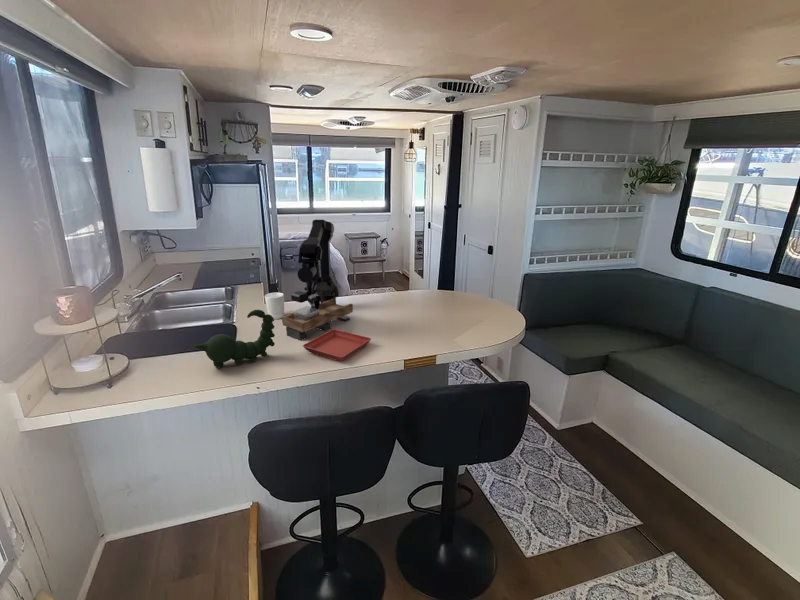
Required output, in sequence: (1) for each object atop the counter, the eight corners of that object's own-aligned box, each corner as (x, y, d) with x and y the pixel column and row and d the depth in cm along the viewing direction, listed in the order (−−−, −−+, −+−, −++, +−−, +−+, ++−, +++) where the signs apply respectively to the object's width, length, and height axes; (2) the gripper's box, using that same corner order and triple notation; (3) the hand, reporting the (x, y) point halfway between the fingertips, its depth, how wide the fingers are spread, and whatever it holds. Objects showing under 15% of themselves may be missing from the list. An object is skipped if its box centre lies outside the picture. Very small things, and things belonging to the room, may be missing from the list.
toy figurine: (271, 354, 153) (195, 363, 142) (270, 304, 148) (191, 310, 137) (277, 364, 146) (197, 375, 134) (276, 312, 140) (193, 319, 129)
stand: (335, 315, 186) (335, 307, 185) (351, 320, 180) (351, 312, 179) (285, 334, 166) (284, 326, 165) (301, 341, 160) (300, 332, 159)
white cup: (281, 320, 181) (278, 298, 178) (264, 319, 182) (261, 297, 179) (288, 313, 188) (286, 292, 185) (272, 313, 190) (269, 292, 186)
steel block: (308, 315, 171) (307, 305, 170) (319, 318, 167) (319, 309, 166) (294, 320, 166) (293, 310, 164) (306, 324, 162) (305, 314, 160)
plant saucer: (372, 345, 156) (372, 337, 155) (342, 365, 141) (341, 356, 140) (334, 336, 165) (333, 328, 164) (302, 354, 150) (301, 345, 149)
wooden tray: (332, 307, 186) (332, 298, 184) (353, 313, 178) (353, 303, 177) (282, 326, 166) (280, 316, 164) (303, 334, 158) (302, 323, 157)
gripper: (307, 284, 153) (311, 323, 158) (344, 272, 167) (346, 309, 172) (288, 279, 159) (292, 317, 165) (325, 268, 173) (328, 304, 178)
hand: (316, 312), depth 170 cm, fingers closed
